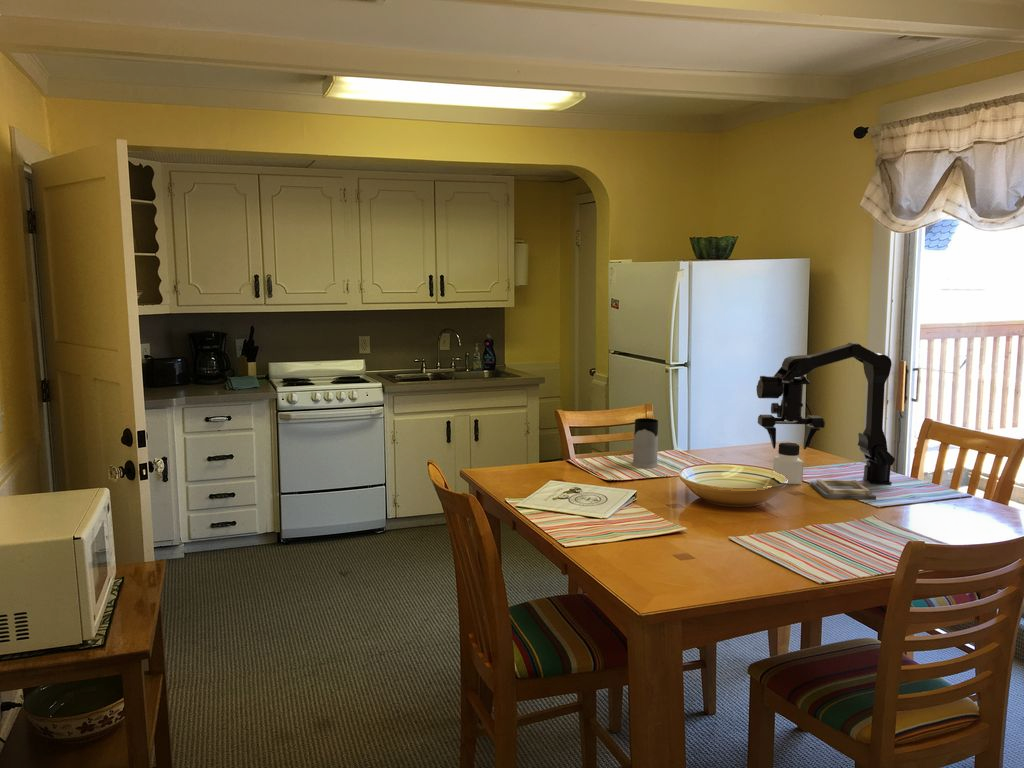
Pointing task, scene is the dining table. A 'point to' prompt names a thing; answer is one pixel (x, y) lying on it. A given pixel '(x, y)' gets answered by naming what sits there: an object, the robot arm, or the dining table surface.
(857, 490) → the grey square tray
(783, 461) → the medicine bottle
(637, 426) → the glass holder
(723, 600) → the dining table surface
